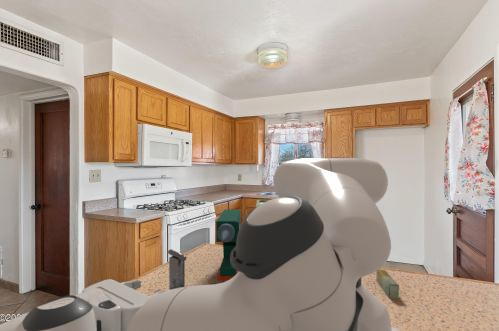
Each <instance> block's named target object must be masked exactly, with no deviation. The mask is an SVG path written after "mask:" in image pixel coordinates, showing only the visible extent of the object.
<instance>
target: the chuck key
mask: <svg viewBox="0 0 499 331" xmlns="http://www.w3.org/2000/svg"><path fill="white" fill-rule="evenodd" d="M167 254H168V255H170V257H168V266H169V267H168V271H169V273H168V274H169V277H168V278H169V280H168V281H169V282H168V284H169V289H168V290H171V289H175V288H180V287H186V285H185V284H186V279H185V274H186V273H185V272H186V271H185V269H186V268H185V261H187V256H186V255H184V254H182V253H180V252H178V251H176V250H174V249H172V248H171V249H169V250H168V251H167Z"/></svg>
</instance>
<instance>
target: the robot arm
mask: <svg viewBox="0 0 499 331" xmlns="http://www.w3.org/2000/svg"><path fill="white" fill-rule="evenodd" d="M274 172H275V173H274V175H273V188H274V191H275V193H276V195H277V196H278V197H276V198H272V199H268V200H269V201H266V202H264V203H262V204H260V205H259V206H257V207H256V206H255V207H254V208H253V209H251V210H250V211H249V212H248V213H247V214H246V216H245V218H244V219H243V221H242V222H241V228H240V230H239V232H238V235H237V243H236V247H235V248H234V249H233V250H232V251H231V253H230V262H231V265H232V266H233V267H234V268H235V269H236V270H238V271H239V272H238V273H237V274H236V275H235V276H234V277H233V278H232V279H230V280H225V281H224V282H219V283H216V284H202V285H201V284H200V285H188V286H185V287H180V288H175V289H171V290H169V289H168V290H164V289H160V288H159V289H157V290H154V293H153V295H152V294H150V295H147V294H145V293H143V292H141V291H138V290H139V289H140V288H141V287H142V282H141V281H140V280H138V279H134V280H131V281H123V282H118V281H117V280H114V279H111V278H110V279H109V278H108V279H104V280H101V281H99V282H96V283H94V284H91V285H89V286H87V287H86V288H83V289H82V291H81V292H80V293H78V294H75V295H71V294H70V295H64V296H61V297H58V298H55V299H52V300H50V301H47V302H43V303H41V304H38V305H35V306H34V307H33V308H32V309H31V310H30V311H28V312H25V313H23V314H20V315H19V316H16V317H13V318H12V319H11V318H10V319H8V320H7V321H5V322H3V323H1V324H0V331H400V330H399V329H398V328H396V327H394V326H393V325H392V324H391V317H390V314H389V311H388V309H387V307H386V305H385V304H384V303H382V302H381V301H380V300H379V299H378V298H377V297H376V296H375V295H374V294H373V293H372V292H371V291H370V290H369V289H368V288H367V287H366V286H365V285H364V284H363V283H362V277H366V276H369V275H372V274H373V273H377V271H378V270H379V269H382V268H383V267H384V266H385V264H386V263H387V261H388V260H389V257H390V255H391V250H392V242H391V241H392V240H391V237H390V232H389V229H388V227H387V226H388V225H387V224H386V221H385V218H384V217H383V214H382V213H381V211H380V209H379V207H378V205H377V203H379V202H380V201H381V199H383V198H384V196H385V195H386V193H387V190H388V185H389V184H388V183H389V180H388V175H387V173H386V170H385V169H384V167H383V166H382V165H381V164H380V163H379V162H378V161H376V160H370V159H365V158H364V159H363V158H358V157H341V158H340V157H335V158H333V157H331V158H330V157H329V158H327V157H324V158H323V157H322V158H297V159H292V160H286V161H283V162H281V163H280V164H279V165H278V166H277V168H276V170H275V171H274ZM234 256H236V257H234Z"/></svg>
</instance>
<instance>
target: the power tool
mask: <svg viewBox="0 0 499 331" xmlns="http://www.w3.org/2000/svg"><path fill="white" fill-rule="evenodd" d="M222 210H223V211H221V213H220V215H219V216H218V218H217V219H216V221H215V243H222V249H223V258H222V260H221V263H220V267H219V273H218V276H217V281H228V280H230V279H232V278H233V277H234V276H235V275H236V274H237V273H238V272H239V271H238V270H236V269H235V268H234V267H233V266H232V265H231V262H230V253H231V251H232V250H233V249H234V248H235V247H236V243H237V235H238V232H239V230H240V228H241V225H242V222H241V221H242V217H241V215H242V214H241V212H242V211H241V209H222ZM234 257H236V256H234Z"/></svg>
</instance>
